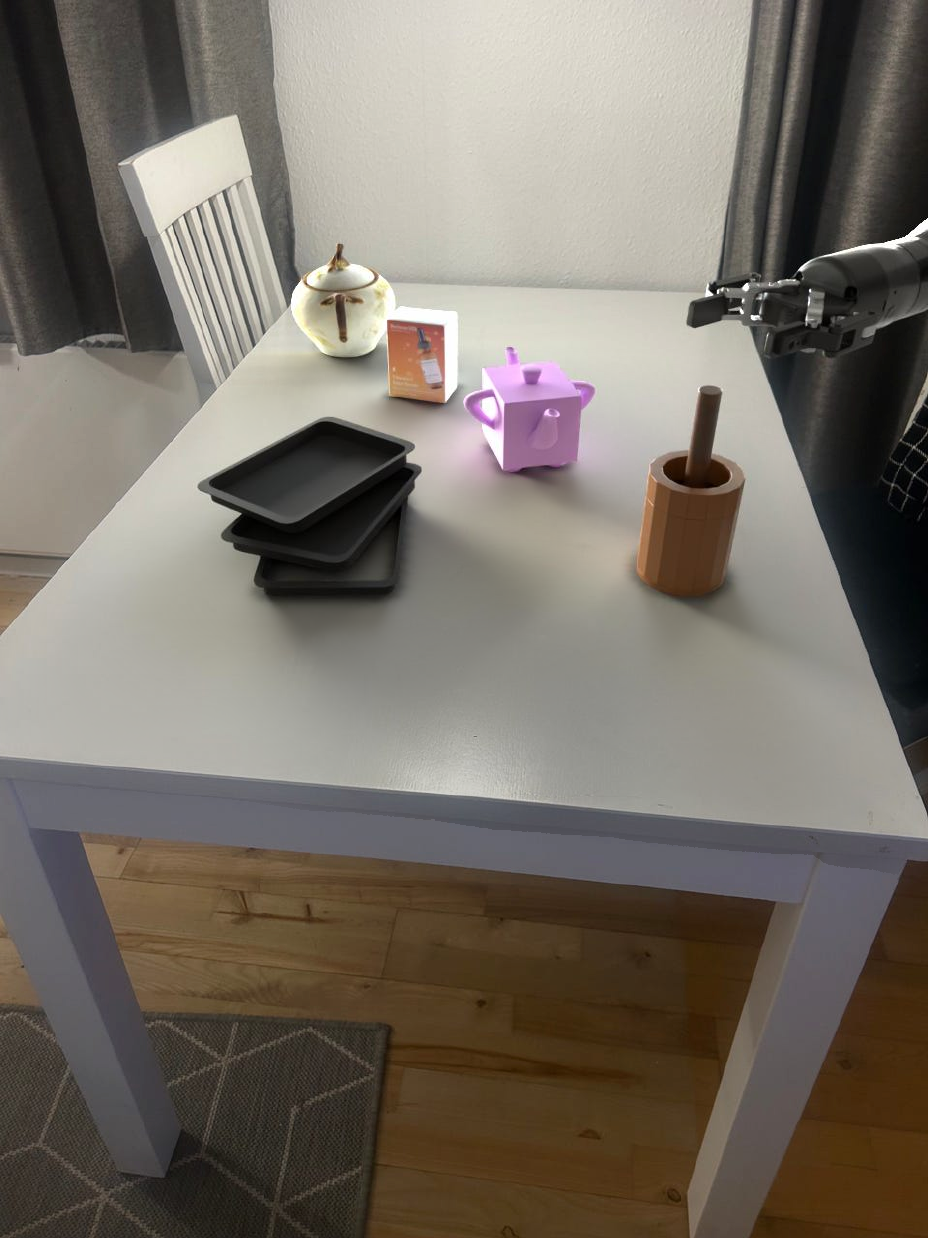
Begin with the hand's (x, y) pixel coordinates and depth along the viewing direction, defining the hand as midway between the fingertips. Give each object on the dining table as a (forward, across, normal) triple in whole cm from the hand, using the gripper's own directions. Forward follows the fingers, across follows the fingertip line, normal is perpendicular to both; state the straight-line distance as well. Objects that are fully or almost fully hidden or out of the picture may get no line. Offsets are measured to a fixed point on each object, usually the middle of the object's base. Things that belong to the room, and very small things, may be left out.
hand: (728, 329), depth 75 cm
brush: (+1, 0, +23) cm, 23 cm away
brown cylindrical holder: (+1, 0, +24) cm, 24 cm away
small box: (-2, -50, +24) cm, 56 cm away
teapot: (-2, -28, +24) cm, 37 cm away
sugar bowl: (-1, -71, +24) cm, 75 cm away
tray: (+26, -28, +24) cm, 45 cm away
